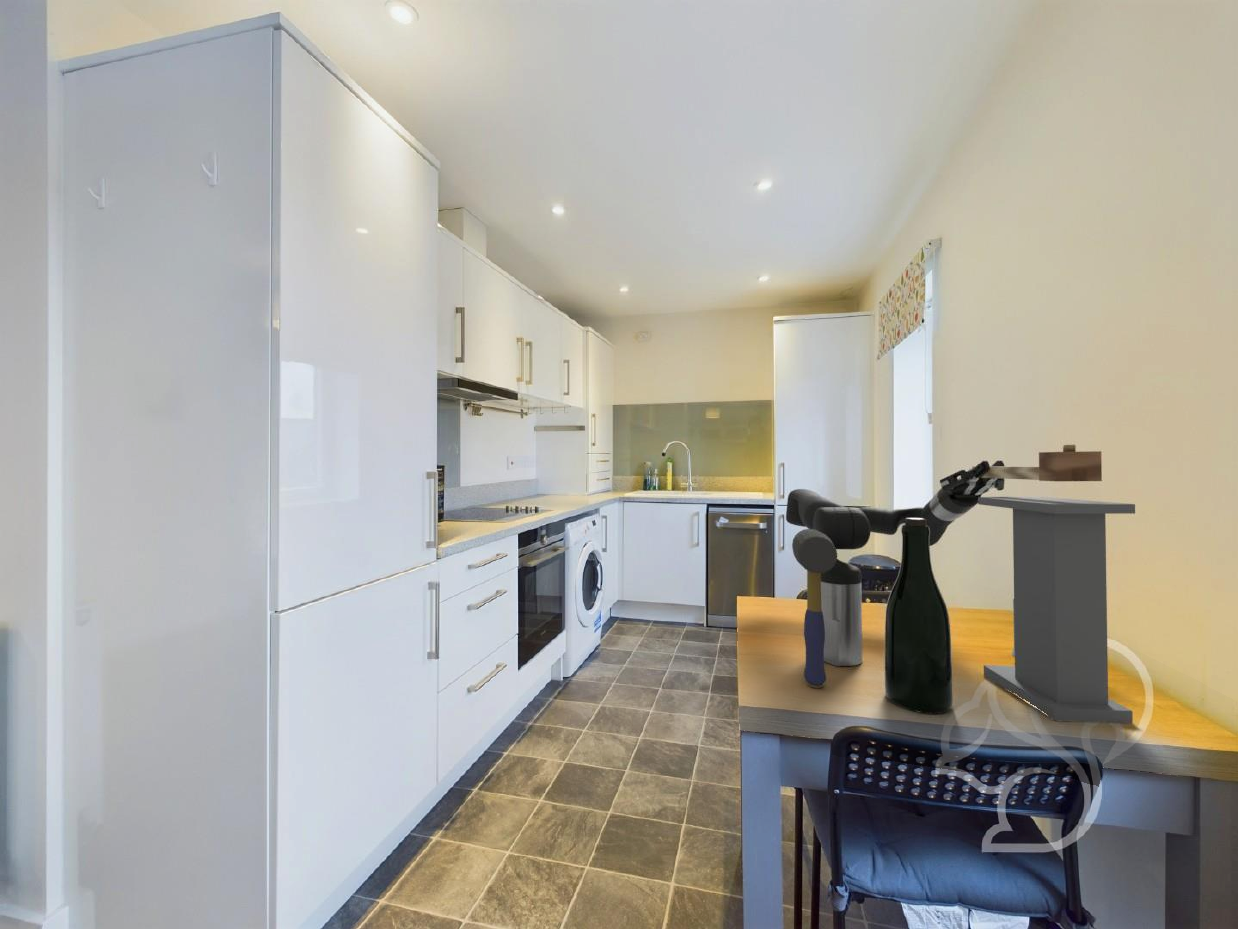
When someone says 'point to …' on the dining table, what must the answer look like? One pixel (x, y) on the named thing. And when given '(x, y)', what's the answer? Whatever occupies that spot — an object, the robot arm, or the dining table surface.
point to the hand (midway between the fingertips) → (994, 464)
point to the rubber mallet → (814, 598)
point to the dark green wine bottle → (917, 630)
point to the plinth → (1060, 608)
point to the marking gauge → (1055, 467)
